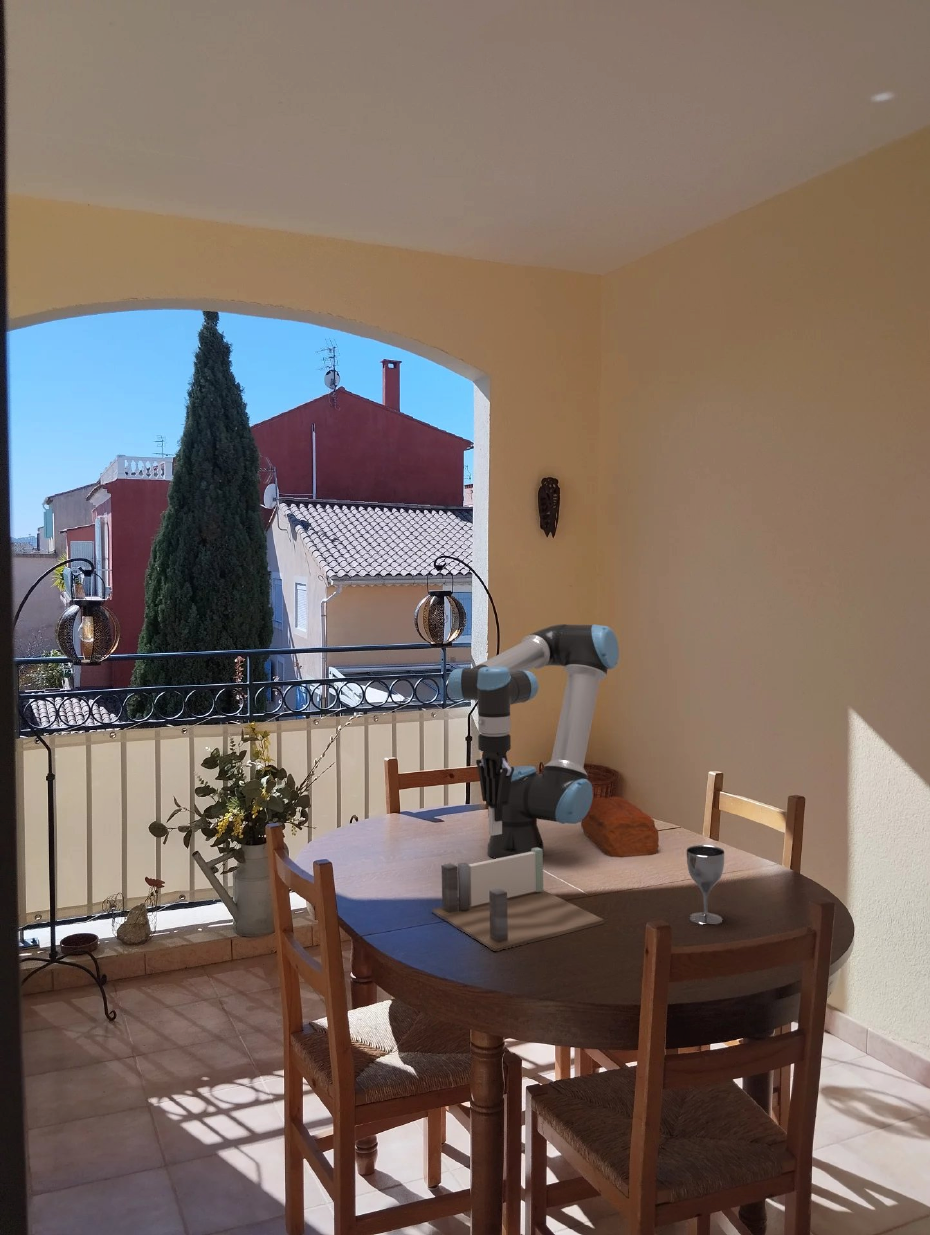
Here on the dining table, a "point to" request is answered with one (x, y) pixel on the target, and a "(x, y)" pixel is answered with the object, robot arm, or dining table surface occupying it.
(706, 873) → the wine glass
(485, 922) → the gate frame
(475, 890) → the gate
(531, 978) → the dining table surface
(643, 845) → the bread
